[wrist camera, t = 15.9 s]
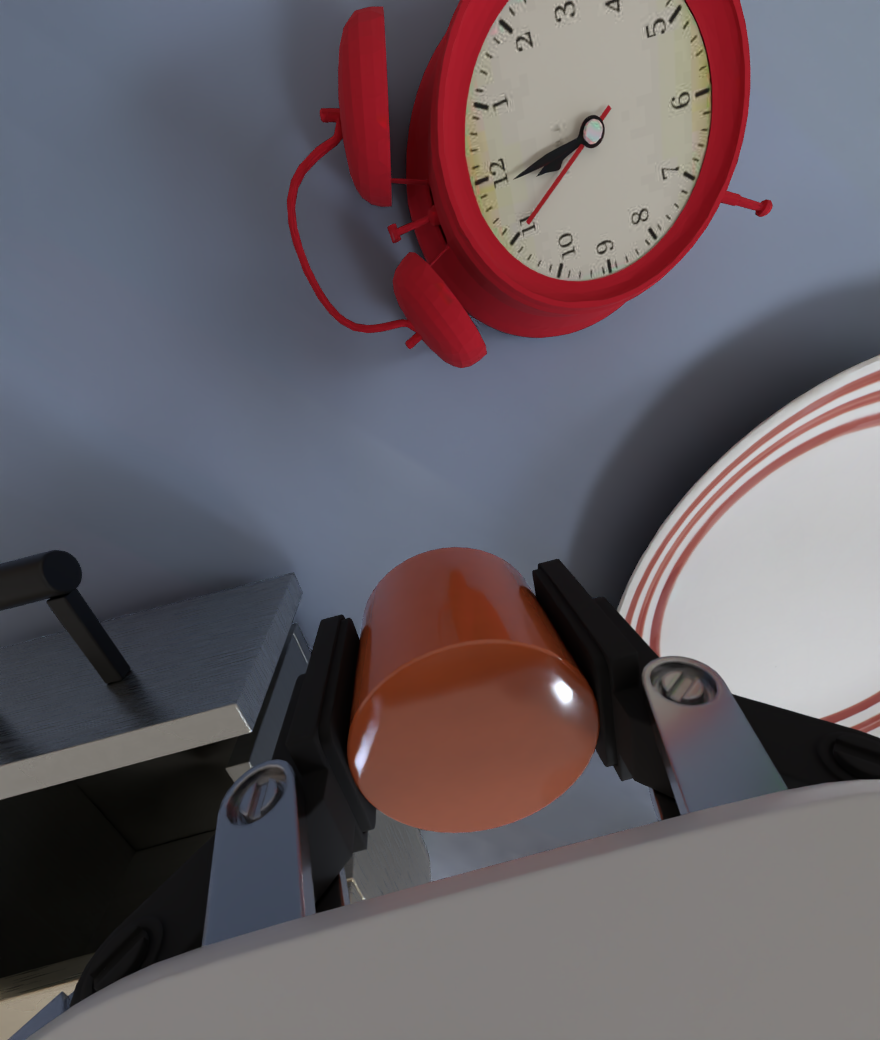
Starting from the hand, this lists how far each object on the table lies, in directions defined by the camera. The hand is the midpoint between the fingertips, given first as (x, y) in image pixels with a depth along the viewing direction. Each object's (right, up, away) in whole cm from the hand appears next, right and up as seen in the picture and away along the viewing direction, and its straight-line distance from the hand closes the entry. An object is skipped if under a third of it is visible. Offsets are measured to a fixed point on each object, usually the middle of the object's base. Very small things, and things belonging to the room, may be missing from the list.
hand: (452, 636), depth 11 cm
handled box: (-13, -5, +9) cm, 17 cm away
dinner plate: (+21, -1, +13) cm, 25 cm away
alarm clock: (+2, +15, +4) cm, 16 cm away
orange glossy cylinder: (0, 0, 0) cm, 0 cm away
